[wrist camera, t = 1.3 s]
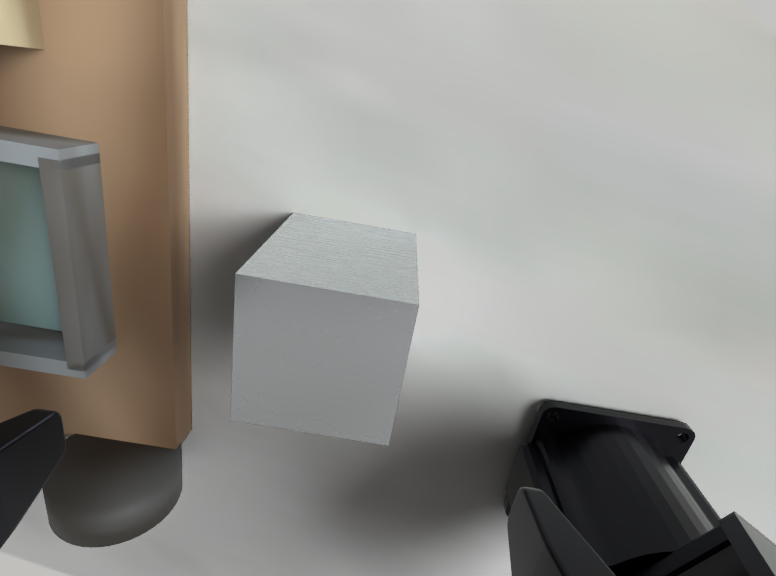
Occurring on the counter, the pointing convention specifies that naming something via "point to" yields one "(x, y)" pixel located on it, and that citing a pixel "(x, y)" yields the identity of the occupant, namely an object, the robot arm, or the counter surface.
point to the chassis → (98, 252)
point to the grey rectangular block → (324, 328)
